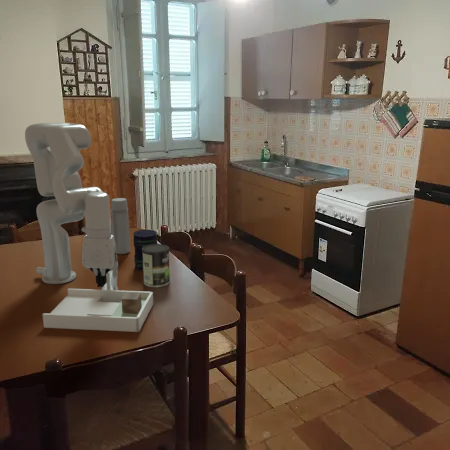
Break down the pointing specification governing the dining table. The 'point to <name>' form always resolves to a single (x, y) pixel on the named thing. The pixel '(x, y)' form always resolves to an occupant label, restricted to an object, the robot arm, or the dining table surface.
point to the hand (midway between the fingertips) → (101, 285)
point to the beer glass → (111, 279)
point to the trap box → (97, 311)
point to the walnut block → (131, 303)
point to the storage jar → (142, 245)
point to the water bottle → (120, 225)
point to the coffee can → (156, 265)
